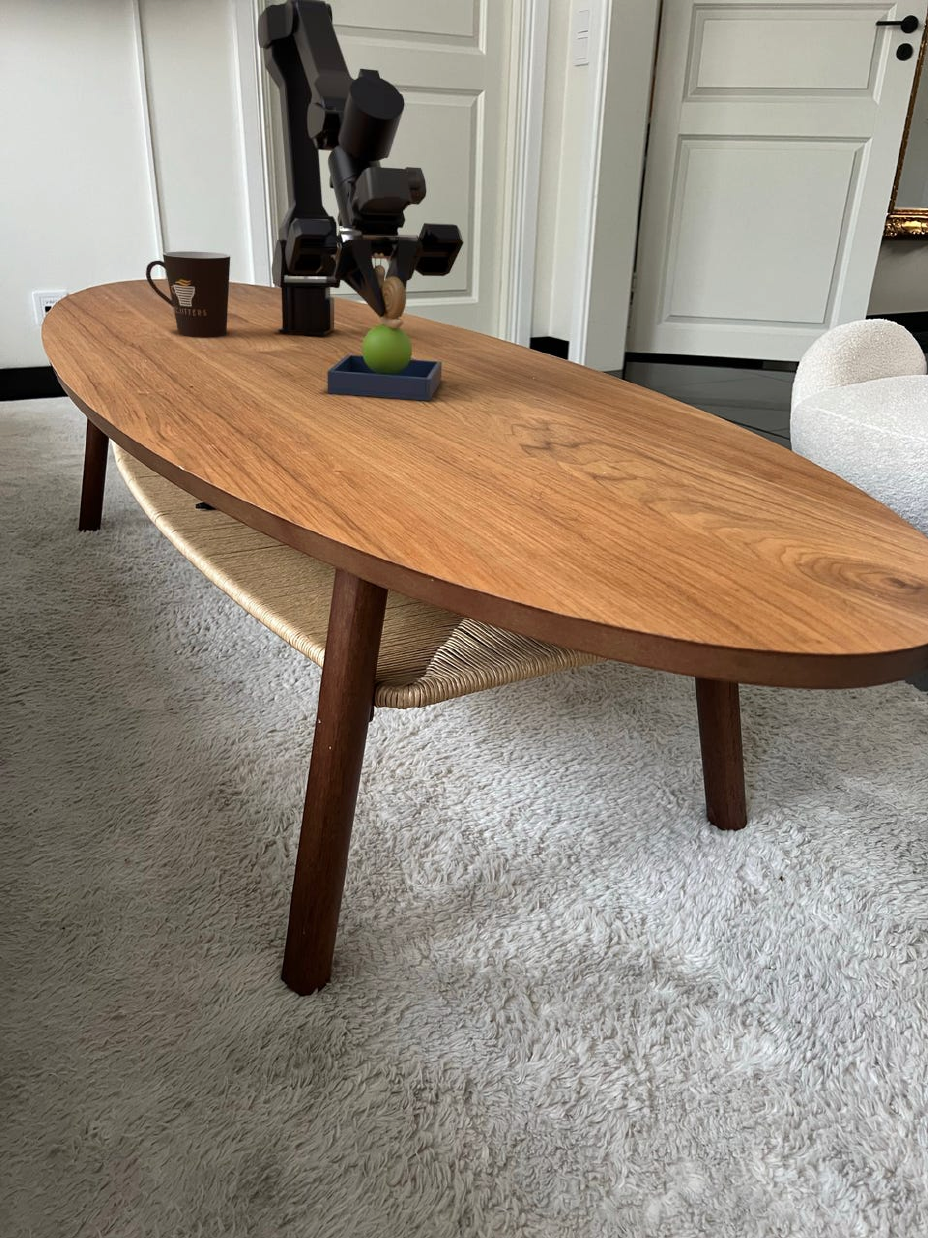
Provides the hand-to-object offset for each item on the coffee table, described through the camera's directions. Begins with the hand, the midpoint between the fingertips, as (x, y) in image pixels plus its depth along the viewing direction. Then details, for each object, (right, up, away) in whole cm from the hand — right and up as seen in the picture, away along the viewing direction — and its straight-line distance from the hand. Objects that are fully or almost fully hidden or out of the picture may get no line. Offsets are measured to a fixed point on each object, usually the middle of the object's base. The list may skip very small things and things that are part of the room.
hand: (391, 314), depth 96 cm
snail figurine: (-1, -5, +4) cm, 7 cm away
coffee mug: (-29, +7, +29) cm, 42 cm away
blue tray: (-1, -7, +4) cm, 8 cm away
